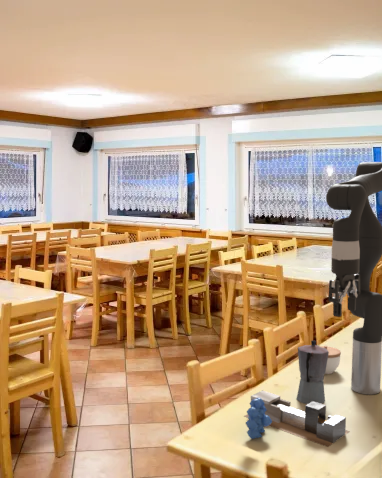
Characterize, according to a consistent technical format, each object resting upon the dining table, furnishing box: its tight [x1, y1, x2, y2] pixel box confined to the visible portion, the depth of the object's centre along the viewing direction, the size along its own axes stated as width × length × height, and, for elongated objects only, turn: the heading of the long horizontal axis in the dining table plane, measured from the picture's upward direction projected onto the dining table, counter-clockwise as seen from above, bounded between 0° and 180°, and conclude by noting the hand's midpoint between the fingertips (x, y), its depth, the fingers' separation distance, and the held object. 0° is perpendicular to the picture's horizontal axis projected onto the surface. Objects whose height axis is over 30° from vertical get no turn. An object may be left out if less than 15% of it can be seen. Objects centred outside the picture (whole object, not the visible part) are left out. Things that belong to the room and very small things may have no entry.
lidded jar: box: [319, 345, 341, 375], centre depth 200 cm, size 11×11×9 cm
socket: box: [316, 413, 347, 444], centre depth 145 cm, size 7×5×5 cm
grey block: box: [276, 401, 327, 434], centre depth 151 cm, size 4×18×7 cm, turn 47°
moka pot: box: [296, 339, 329, 405], centre depth 169 cm, size 10×15×20 cm, turn 161°
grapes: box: [245, 398, 272, 440], centre depth 145 cm, size 12×7×12 cm, turn 156°
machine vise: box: [243, 389, 350, 448], centre depth 153 cm, size 12×27×7 cm, turn 47°
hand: (344, 313), depth 154 cm, fingers open, 8 cm apart
